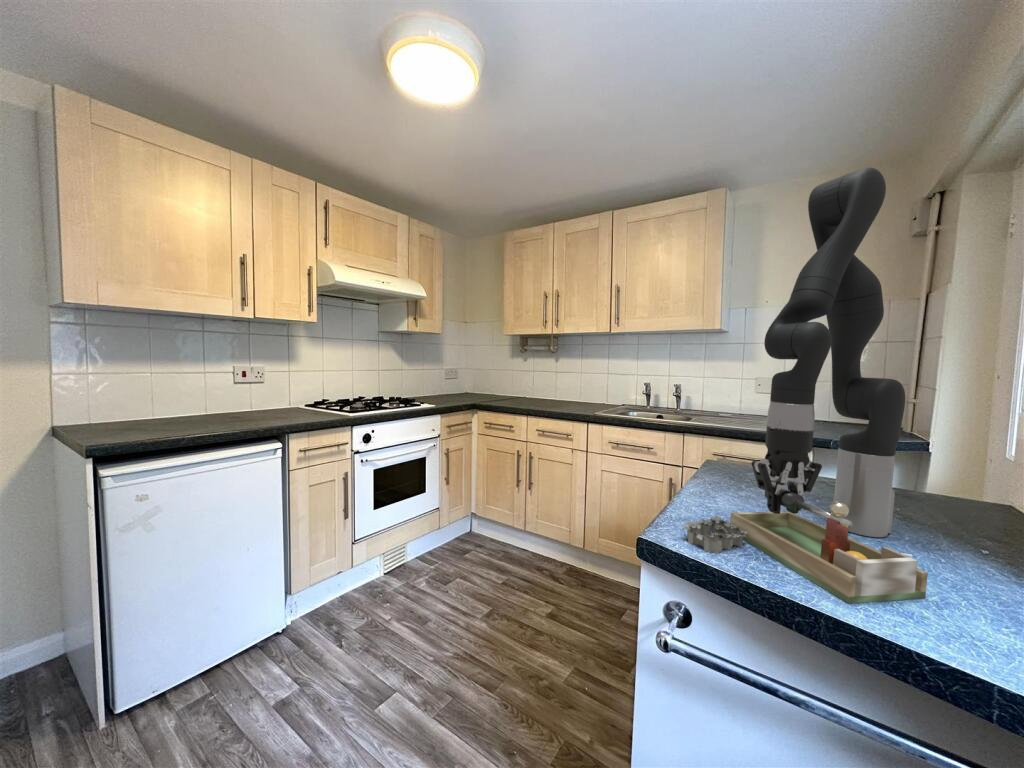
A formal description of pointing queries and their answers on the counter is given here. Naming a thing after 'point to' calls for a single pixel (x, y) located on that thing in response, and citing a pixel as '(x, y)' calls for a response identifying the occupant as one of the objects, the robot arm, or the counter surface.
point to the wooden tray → (847, 575)
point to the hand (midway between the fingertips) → (782, 511)
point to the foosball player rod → (834, 526)
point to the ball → (857, 555)
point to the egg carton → (722, 536)
